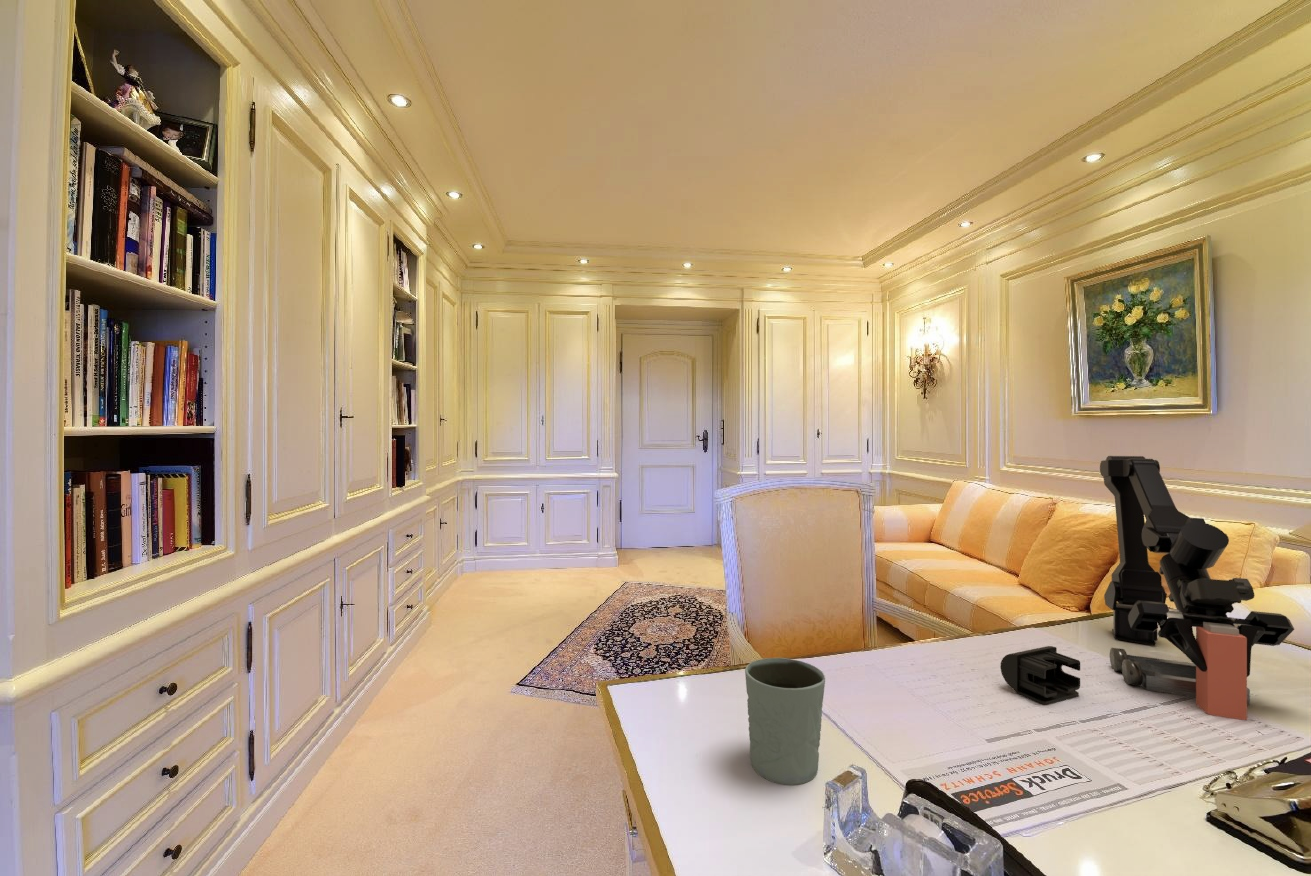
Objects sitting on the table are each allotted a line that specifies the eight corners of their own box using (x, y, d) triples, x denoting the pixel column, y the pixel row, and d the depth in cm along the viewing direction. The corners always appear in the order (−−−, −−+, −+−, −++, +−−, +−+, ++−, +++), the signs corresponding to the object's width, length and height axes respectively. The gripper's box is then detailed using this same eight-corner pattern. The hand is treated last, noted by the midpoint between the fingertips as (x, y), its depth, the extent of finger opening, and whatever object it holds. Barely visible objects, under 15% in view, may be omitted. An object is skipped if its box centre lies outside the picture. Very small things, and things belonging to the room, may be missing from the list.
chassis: (1109, 665, 103) (1109, 644, 103) (1216, 680, 97) (1215, 657, 97) (1130, 687, 94) (1130, 664, 94) (1249, 705, 88) (1249, 680, 88)
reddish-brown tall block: (1196, 704, 88) (1196, 620, 88) (1233, 709, 86) (1233, 624, 86) (1207, 714, 85) (1207, 626, 85) (1246, 720, 83) (1246, 631, 83)
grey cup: (737, 777, 68) (738, 681, 68) (752, 736, 78) (752, 652, 78) (822, 796, 65) (822, 694, 65) (826, 750, 74) (827, 662, 74)
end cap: (1038, 678, 97) (1038, 640, 97) (1082, 696, 91) (1082, 655, 91) (999, 688, 94) (999, 648, 94) (1042, 706, 87) (1042, 664, 87)
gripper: (1134, 552, 93) (1164, 639, 83) (1286, 562, 85) (1339, 659, 75) (1117, 587, 100) (1142, 671, 90) (1255, 600, 92) (1300, 692, 82)
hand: (1225, 673), depth 84 cm, fingers closed on reddish-brown tall block, 4 cm apart
